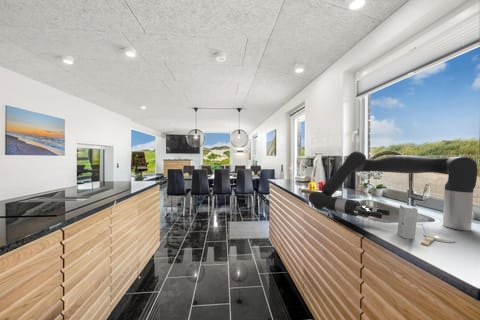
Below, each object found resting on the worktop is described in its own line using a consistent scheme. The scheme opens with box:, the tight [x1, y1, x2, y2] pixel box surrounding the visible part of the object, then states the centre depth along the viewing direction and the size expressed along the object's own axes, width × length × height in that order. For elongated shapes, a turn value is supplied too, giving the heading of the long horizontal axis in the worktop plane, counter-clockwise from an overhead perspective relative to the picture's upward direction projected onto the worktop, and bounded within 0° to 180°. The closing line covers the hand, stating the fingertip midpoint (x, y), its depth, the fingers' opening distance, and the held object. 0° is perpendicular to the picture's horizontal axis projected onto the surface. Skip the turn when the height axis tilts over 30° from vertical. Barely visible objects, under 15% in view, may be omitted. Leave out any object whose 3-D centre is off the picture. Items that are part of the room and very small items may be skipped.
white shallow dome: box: [423, 231, 456, 244], centre depth 82 cm, size 9×9×1 cm
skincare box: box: [397, 204, 418, 240], centre depth 83 cm, size 6×4×12 cm
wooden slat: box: [420, 237, 436, 247], centre depth 78 cm, size 10×2×1 cm, turn 127°
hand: (385, 214), depth 89 cm, fingers open, 8 cm apart
